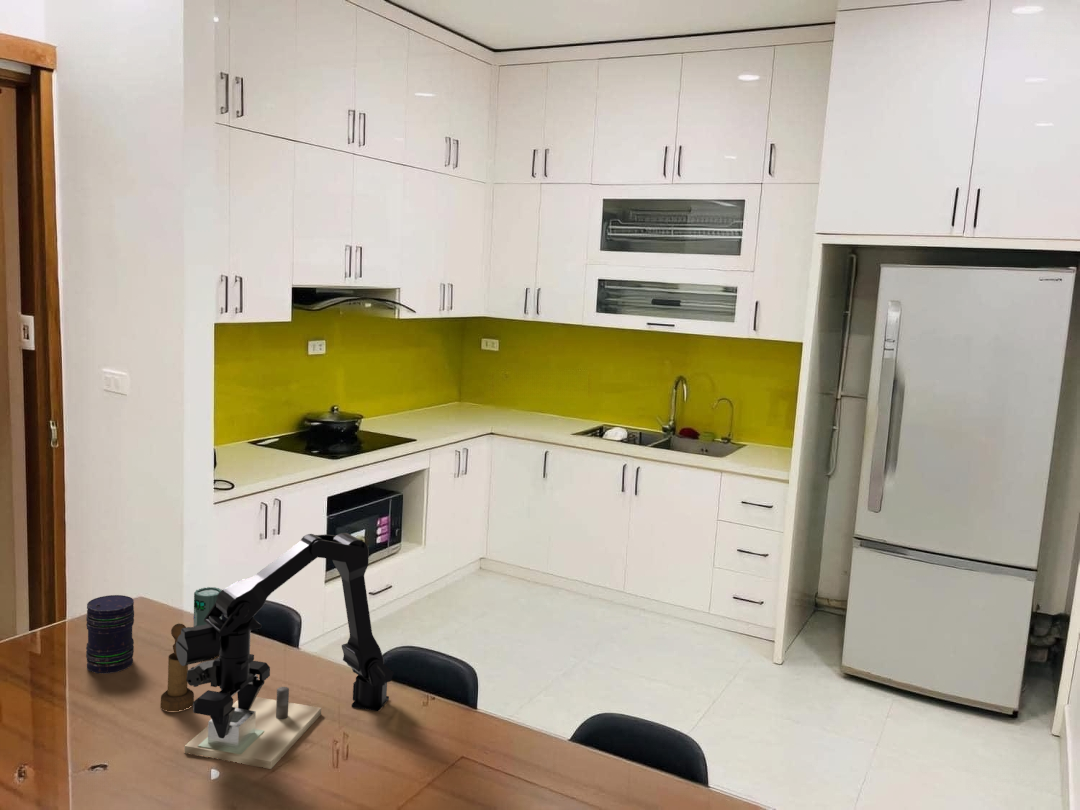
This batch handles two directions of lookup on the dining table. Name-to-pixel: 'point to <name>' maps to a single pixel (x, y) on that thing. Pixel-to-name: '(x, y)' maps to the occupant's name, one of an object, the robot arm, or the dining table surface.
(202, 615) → the can
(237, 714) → the collar
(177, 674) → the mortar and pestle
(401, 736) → the dining table surface
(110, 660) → the storage jar
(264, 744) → the board
